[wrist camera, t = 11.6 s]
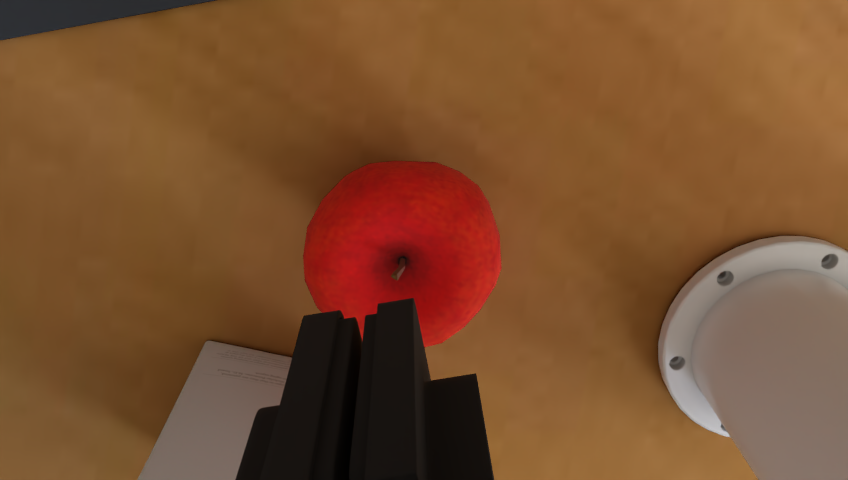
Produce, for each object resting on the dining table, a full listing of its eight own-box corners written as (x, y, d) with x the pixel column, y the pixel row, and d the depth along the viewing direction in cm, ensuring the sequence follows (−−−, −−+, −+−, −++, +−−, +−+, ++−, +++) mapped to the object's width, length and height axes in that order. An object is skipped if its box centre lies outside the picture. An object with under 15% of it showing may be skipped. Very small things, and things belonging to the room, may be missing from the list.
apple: (455, 105, 37) (467, 147, 30) (509, 257, 40) (532, 328, 33) (289, 167, 38) (263, 221, 31) (355, 310, 41) (345, 390, 34)
